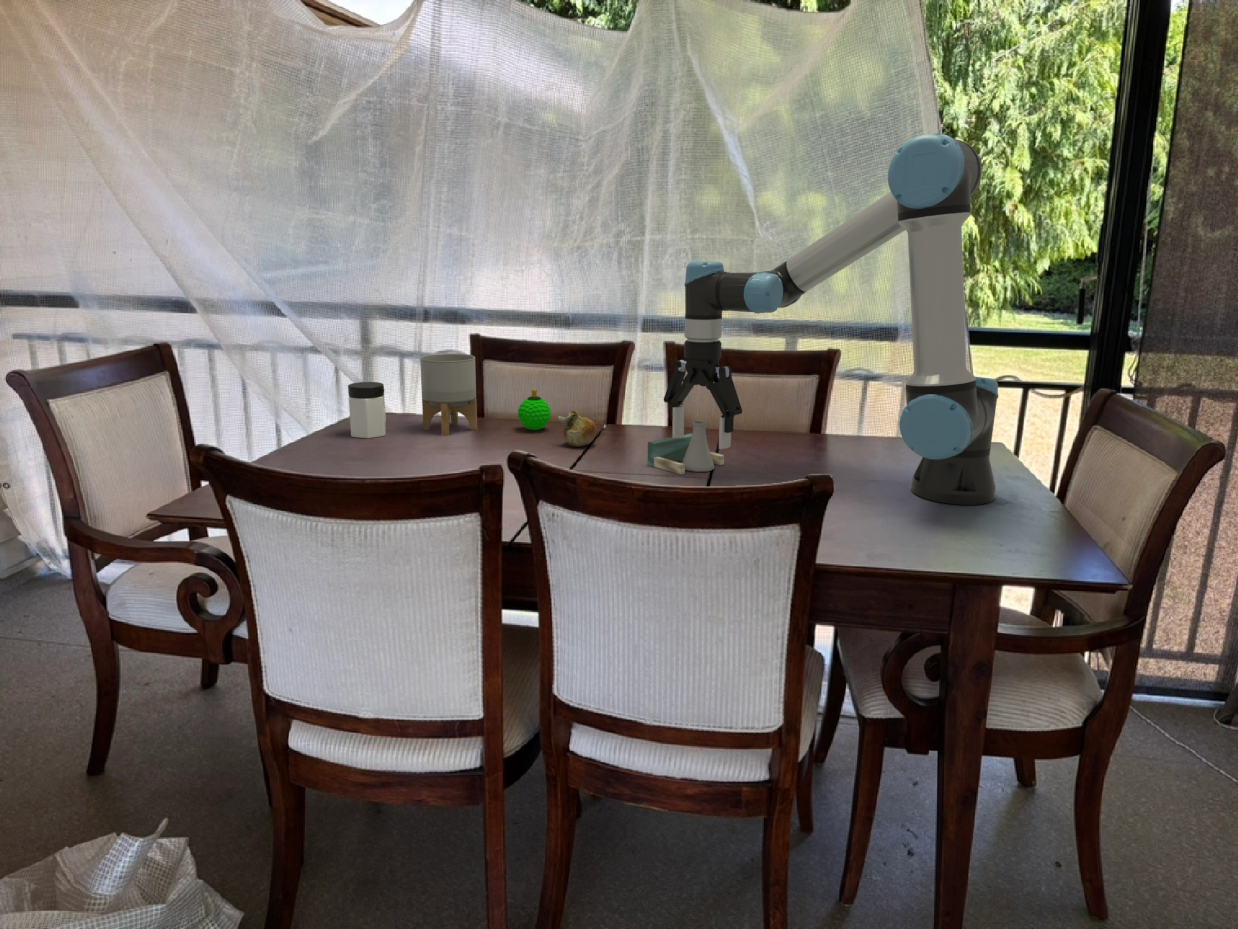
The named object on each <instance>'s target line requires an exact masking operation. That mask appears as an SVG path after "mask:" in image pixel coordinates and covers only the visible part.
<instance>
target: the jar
mask: <svg viewBox="0 0 1238 929" xmlns="http://www.w3.org/2000/svg"><path fill="white" fill-rule="evenodd" d="M384 386H385V385H384V383H382V382H378V381H361V382H359V381H358V382H352V383H349V384H348V385H347V392H348V394H347V395H348V409H349V410H348V411H349V425H350V437H351V438H357V439H358V438H361V439H374V438H380V437H385V436H386V435H387V434H386V433H387V425H386V422H387V420H386V419H387V417H386V414H387V413H386V405H385V404H386V403H385V387H384Z"/></svg>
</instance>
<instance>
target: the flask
mask: <svg viewBox="0 0 1238 929" xmlns="http://www.w3.org/2000/svg"><path fill="white" fill-rule="evenodd" d="M691 425H692V432H691V433H692V437H691V441H690V444H689V446H688V449H687V452H686V454H685V456H684V459H683V460H681V461H682V462H681V463H682V464H685V471H690V472H697V473H698V472H710V471H711V472H712V470H714V469H716V466H715V464H714V463H713V460H712V457H711V454H710V452H711V451H710V447H709V443H708V440H707V433H706V432H707V431H706V428H707V425H708V422H707V421H706V420H700V419H699V420H692V421H691Z"/></svg>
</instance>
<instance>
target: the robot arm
mask: <svg viewBox="0 0 1238 929" xmlns="http://www.w3.org/2000/svg"><path fill="white" fill-rule="evenodd" d="M897 149H898V150H896V152H895V153H894V155H893V156H892V158H891V160H890V162H889V166H888V169H887V184H888V189H889V192H887V193H886V194H884V195H882V197H880V198H878V199H877V200H875V201H874V202H873V203H871V204H870V205H868V206H866V207H865V208H864V209H862V210H860V211H859V212H857V213H856V214H854V215H853V216H852V217H850V218H849V219H847V220H846V221H844V222H842V223H841V224H839V225H838V226H837V227H835V228H834V229H832V230H830V231H829V232H828V233H826V234H825V235H823V236H821V237H820V238H819V239H817V240H815V241H814V242H812V243H811V244H810V245H808V246H806V247H805V248H803V249H802V250H800V251H798V252H797V253H796V254H794V255H793V256H791V257H790V258H788V259H787V260H786V261H784V262H782V263H781V264H779V265H778V266H776V267H775V268H772V269H771V270H767V271H766V270H765V271H755V272H754V271H753V272H730V271H725V269H724V268H725V266H724V264H723V262H721V261H709V260H708V261H703V260H701V261H699V260H698V261H690V262H689V263H688V264H687V265H686V268H685V279H684V293H685V294H684V295H685V296H684V311H685V312H684V330H683V331H684V332H683V334H684V338H685V339H686V340H685V341H684V343H683V344H684V345H683V346H684V347H683V348H684V349H683V357H684V358H685V359H680V360H675V361H674V368H673V372H672V375H671V379H670V381H669V383H668V387H667V389H666V392H665V394H664V396H663V402H664V403H666V404H669V406H670V420H671V421H672V434H671V437H672V438H678V437H683V436H684V435H685V405H684V401H685V399H686V398H687V397H688V395H689V394H690V392H691V391H692V390H693V388H694V386H698V385H699V386H701V387H705V388H706V390H709V392H710V393H711V396H712V398H713V400H714V402H715V403H716V405H717V406H718V408H719V410H720V412H721V414H722V415H721V416H719V423H718V424H719V426H718V427H719V429H718V449H719V450H723V449H728V448H729V449H730V448H731V447H732V446H731V445H732V444H731V443H732V433H733V432H734V426H735V425H734V422H735V421H734V420H735V419H734V418H735V416H738V415H741V414H742V413H743V409H742V406H741V402H740V399H739V395H738V393H737V390H736V386H735V383H734V380H733V376H732V373H733V372H732V366H731V365H728V366H720V363H719V362H720V359H721V358H722V341H721V340H719V339H721V338H722V331H723V330H722V328H723V327H722V326H723V325H722V324H723V312H729V311H730V312H738V313H739V312H741V313H742V312H743V313H754V314H757V315H759V314H765V313H767V314H768V313H770V314H771V313H775V312H776V311H778V309H780V308H781V309H782V308H784V309H785V308H787V307H789V306H792V305H793V304H795V303H797V302H798V301H799V300H800V299H801V297H802V296H803V295H804V294H805V293H808V292H809V291H810V290H811V289H813V288H815V287H816V286H818V285H819V284H822V283H823V282H825V281H826V280H828V279H829V278H831V277H832V276H834V275H835V274H837V273H839V272H841V271H842V270H844V269H845V268H847V267H849V266H850V265H851V264H854V263H855V262H857V261H858V260H860V259H862V258H863V257H864V256H867V255H869V254H870V253H871V252H873V251H874V250H876V249H878V248H880V247H881V246H882V245H884V244H886V243H887V242H889V241H891V240H892V239H893V238H895V237H897V236H899V235H900V234H901V233H903V232H905V231H906V232H907V243H908V244H907V245H908V247H907V248H908V262H909V264H908V266H909V268H908V270H909V287H910V289H909V290H910V310H911V311H910V312H911V332H912V334H911V335H912V336H911V337H912V338H911V339H912V358H913V359H912V360H913V361H912V362H913V373H912V374H911V375H910V376H909V377H908V379H906V381H905V402H906V403H905V404H906V405H905V406H904V407H903V410H902V412H901V415H900V418H899V426H898V427H899V431H900V436H901V438H902V440H903V442H904V443H905V445H906V446H907V448H909V449H910V450H911V451H912V452H914V454H916V455H918V456H919V457H921V459H920V461H919V463H918V465H917V467H916V470H915V472H914V474H913V476H912V479H911V487H910V488H911V489H910V490H911V493H913V494H914V495H916V496H918V497H921V498H922V499H926V500H929V501H933V502H938V503H943V504H949V505H959V506H960V505H962V506H963V505H964V506H975V505H978V506H979V505H984V504H989V503H991V502H993V501H994V500H995V496H996V483H995V482H996V481H995V478H994V477H995V476H994V473H993V469H992V466H991V460H990V455H991V448H992V441H993V432H994V426H995V416H996V409H997V401H998V398H999V392H998V391H999V384H998V382H997V380H996V379H994V378H990V377H983V376H982V377H981V376H975V375H974V374H973V373H972V372H970V371H969V370H968V369H967V355H966V354H967V352H966V351H967V350H966V349H967V347H966V324H965V322H966V321H965V293H964V291H965V290H964V288H965V287H964V265H963V264H964V263H963V261H964V260H963V237H962V236H963V232H962V230H963V229H962V226H963V225H964V223H965V222H966V221H967V220H968V219H969V217H971V211H972V209H971V203H972V202H971V197H972V196H973V195H974V193H975V192H976V191H977V189H978V187H979V185H980V182H981V179H982V174H983V173H982V172H983V171H982V170H983V166H982V162H981V159H980V156H979V154H978V152H977V151H976V150H975V149H974V148H973V146H971V144H968V143H967V142H965V141H963V140H960V139H958V138H957V139H956V138H953V137H951V136H949V135H946V134H943V133H939V132H937V133H926V134H920V135H916V136H915V137H912V138H910V139H909V140H908V141H906V142H904V143H903V144H902V145H901V146H900V147H899V148H897Z"/></svg>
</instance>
